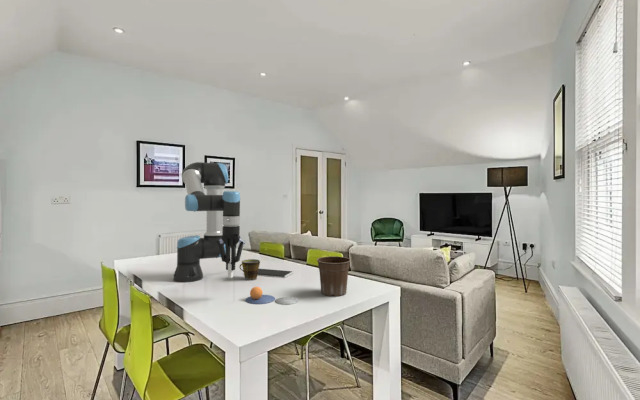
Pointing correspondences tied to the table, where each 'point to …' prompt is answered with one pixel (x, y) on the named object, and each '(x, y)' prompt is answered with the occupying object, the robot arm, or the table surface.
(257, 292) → the ball
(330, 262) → the plant pot
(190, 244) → the robot arm
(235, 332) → the table surface
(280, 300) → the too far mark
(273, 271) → the dark grey flat slab
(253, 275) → the ceramic cup
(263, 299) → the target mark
